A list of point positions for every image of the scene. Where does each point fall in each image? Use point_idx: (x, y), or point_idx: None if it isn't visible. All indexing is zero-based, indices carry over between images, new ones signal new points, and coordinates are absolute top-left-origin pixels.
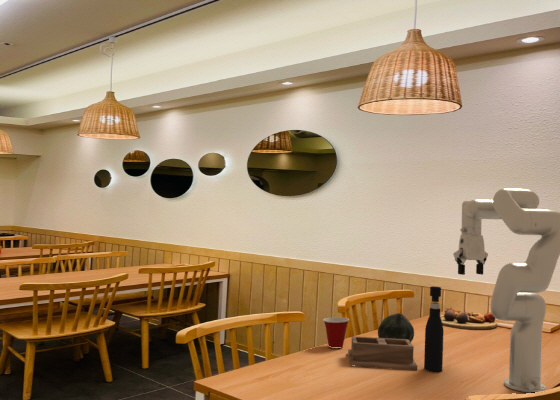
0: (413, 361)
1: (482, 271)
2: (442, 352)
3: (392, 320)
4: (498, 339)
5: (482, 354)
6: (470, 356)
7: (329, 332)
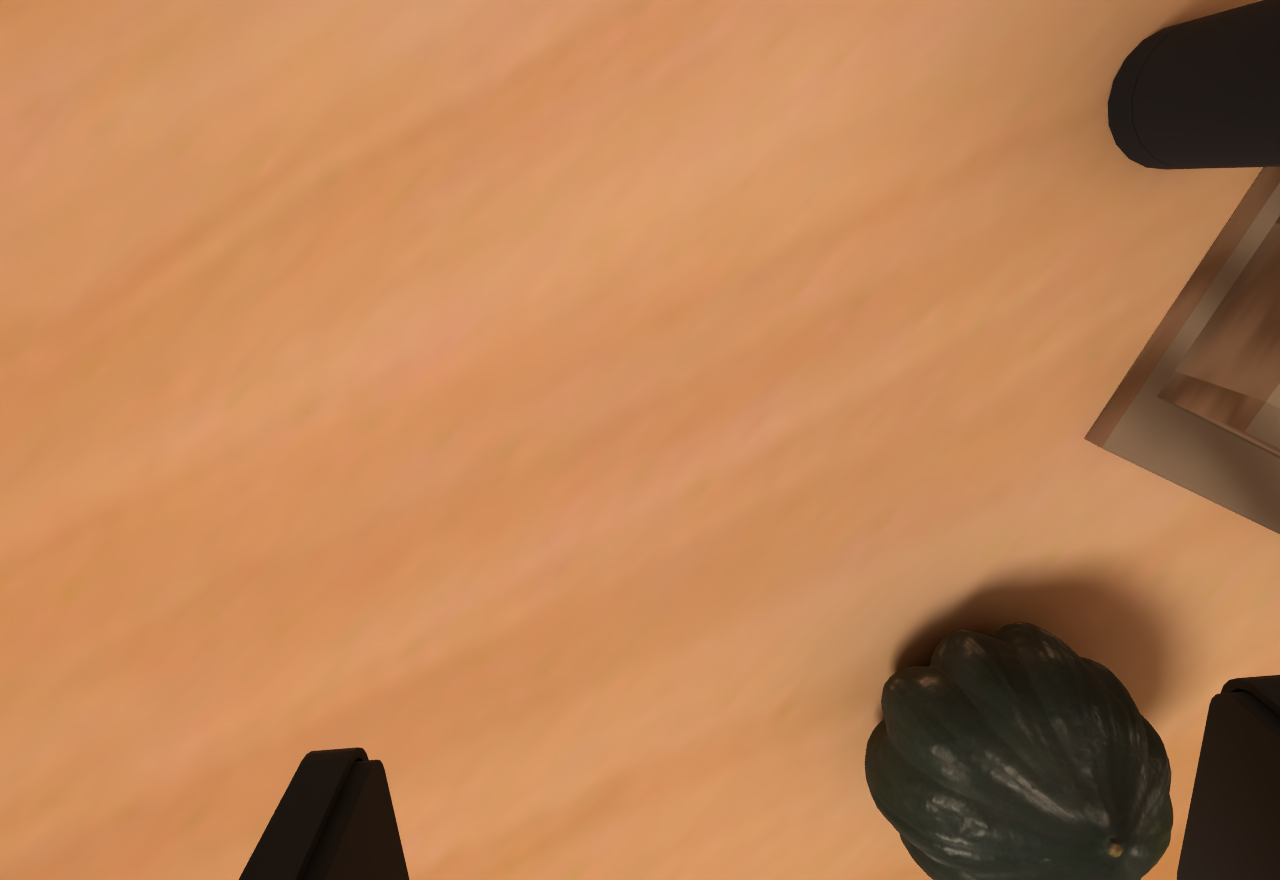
0: (1258, 230)
1: (314, 824)
2: (1258, 7)
3: (1152, 805)
4: (33, 713)
5: (472, 376)
6: (612, 349)
7: None
